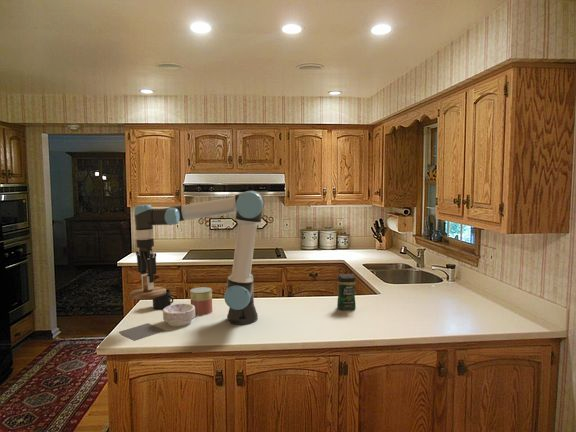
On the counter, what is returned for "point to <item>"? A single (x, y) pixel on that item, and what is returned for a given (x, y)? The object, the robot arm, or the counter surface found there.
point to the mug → (162, 301)
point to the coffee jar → (346, 292)
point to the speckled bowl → (179, 314)
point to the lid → (147, 291)
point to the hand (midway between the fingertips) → (148, 288)
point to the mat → (141, 331)
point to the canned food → (201, 300)
